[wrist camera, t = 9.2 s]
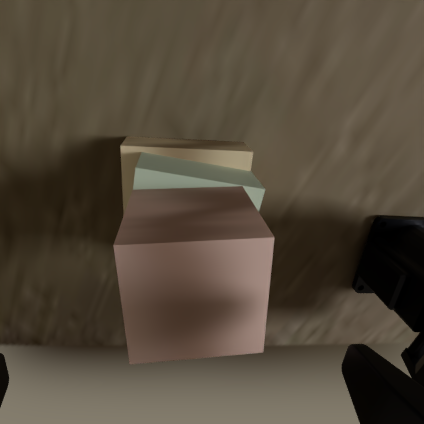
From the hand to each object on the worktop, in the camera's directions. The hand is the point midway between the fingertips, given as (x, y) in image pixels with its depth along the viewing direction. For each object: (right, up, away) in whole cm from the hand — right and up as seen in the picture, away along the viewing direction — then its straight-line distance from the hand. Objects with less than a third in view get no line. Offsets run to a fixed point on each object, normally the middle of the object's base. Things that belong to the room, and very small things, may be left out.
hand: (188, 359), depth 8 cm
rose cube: (0, +3, +7) cm, 8 cm away
